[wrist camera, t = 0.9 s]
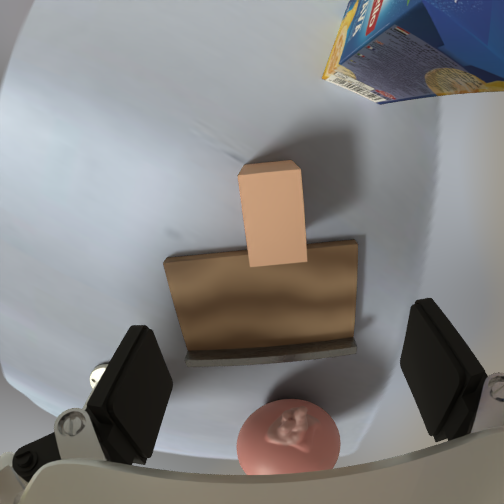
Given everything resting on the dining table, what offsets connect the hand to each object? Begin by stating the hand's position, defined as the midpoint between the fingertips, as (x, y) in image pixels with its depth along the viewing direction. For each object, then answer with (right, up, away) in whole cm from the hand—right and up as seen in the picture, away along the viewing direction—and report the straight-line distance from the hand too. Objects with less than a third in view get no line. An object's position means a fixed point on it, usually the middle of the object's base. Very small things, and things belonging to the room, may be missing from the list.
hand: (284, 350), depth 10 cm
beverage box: (+11, +25, +15) cm, 31 cm away
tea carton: (+1, +9, +22) cm, 24 cm away
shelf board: (0, -2, +27) cm, 27 cm away
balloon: (+5, -20, +34) cm, 40 cm away
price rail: (+1, -9, +29) cm, 31 cm away
